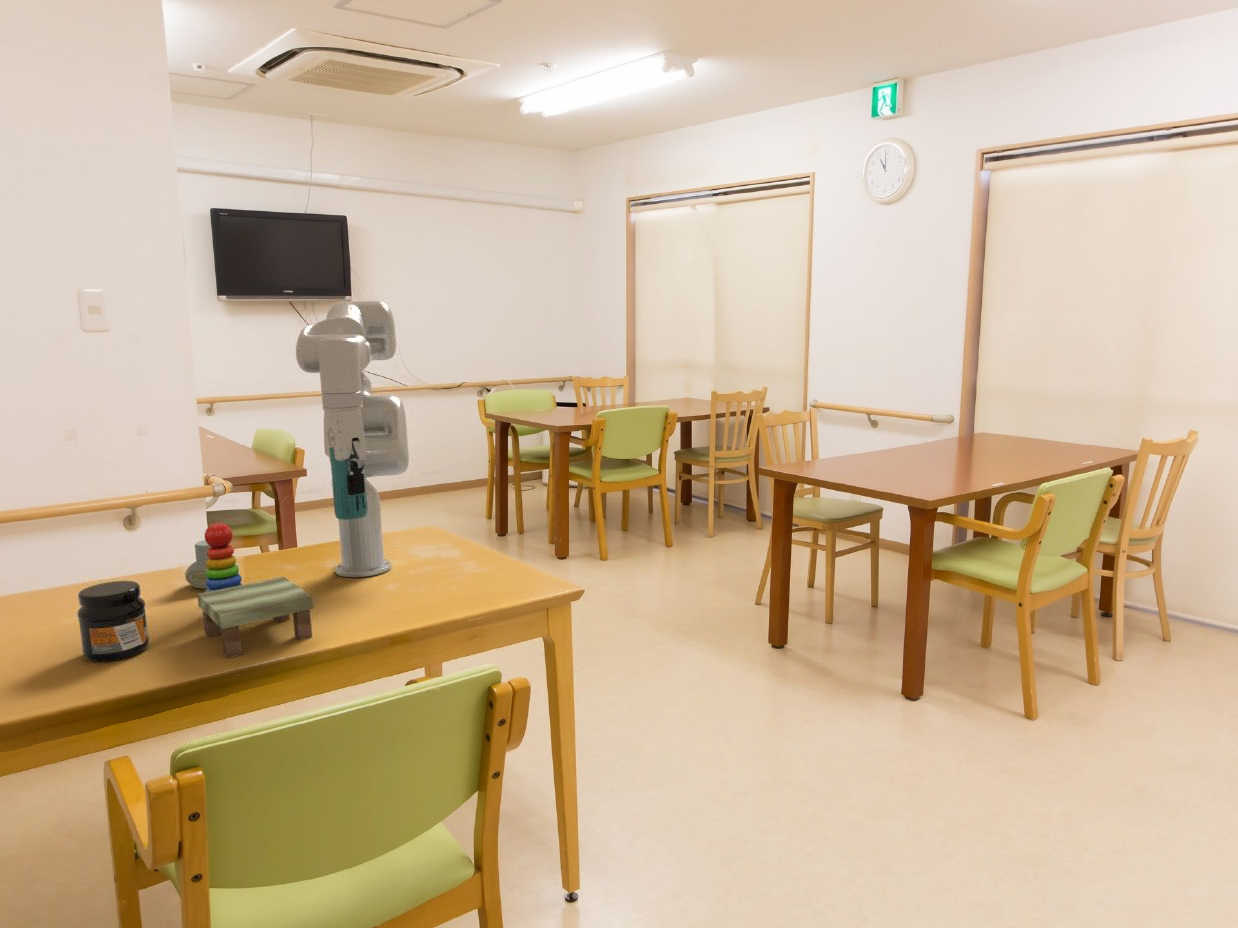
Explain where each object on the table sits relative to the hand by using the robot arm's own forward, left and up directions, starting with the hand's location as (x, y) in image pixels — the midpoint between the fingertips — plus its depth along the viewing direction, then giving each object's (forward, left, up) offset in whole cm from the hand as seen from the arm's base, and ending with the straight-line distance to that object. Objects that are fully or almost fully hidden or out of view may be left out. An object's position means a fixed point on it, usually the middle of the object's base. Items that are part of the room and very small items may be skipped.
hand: (349, 490), depth 173 cm
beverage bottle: (0, 0, -7) cm, 7 cm away
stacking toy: (-16, -21, -25) cm, 36 cm away
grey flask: (-38, -18, -25) cm, 49 cm away
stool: (+1, -20, -25) cm, 32 cm away
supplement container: (-8, -42, -25) cm, 50 cm away
